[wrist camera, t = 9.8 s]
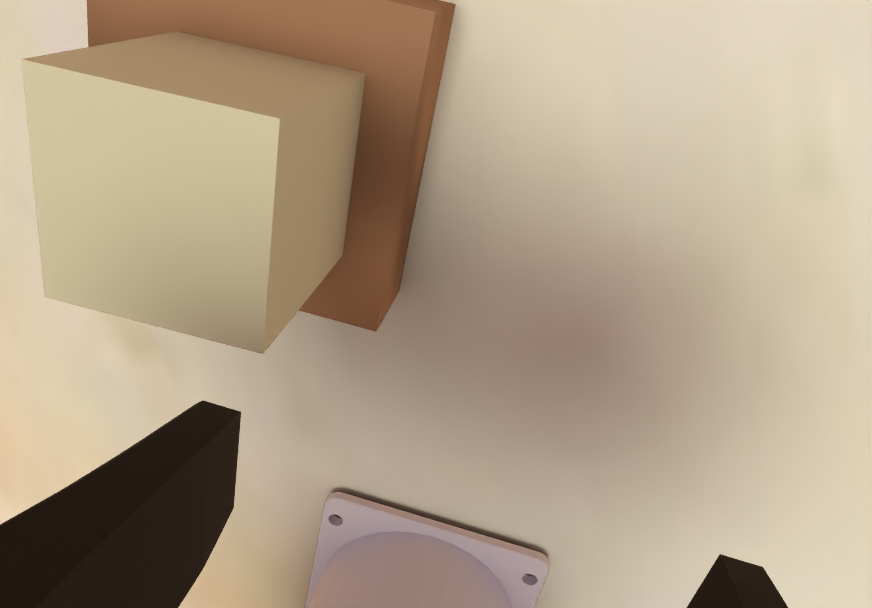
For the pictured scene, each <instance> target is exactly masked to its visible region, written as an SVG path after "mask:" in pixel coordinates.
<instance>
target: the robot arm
mask: <svg viewBox="0 0 872 608" xmlns="http://www.w3.org/2000/svg"><path fill="white" fill-rule="evenodd" d="M240 418H241V412H240V411H236V410H233V409H229V408H226V407H223V406H219V405H216V404H213V403H209V402H206V401H201V402H199V403H197V404H195V405H194V406H192V407H191V408H189V409H187V410H186V411H184V412H183V413H181V414H180V415H178V416H177V417H175V418H174V419H172V420H171V421H169V422H168V423H166V424H165V425H163V426H162V427H160V428H159V429H157V430H156V431H154V432H153V433H151V434H150V435H148V436H147V437H145V438H144V439H142V440H141V441H139V442H138V443H136V444H134V445H133V446H131V447H130V448H128V449H127V450H125V451H124V452H122V453H121V454H119V455H118V456H116V457H114V458H113V459H111V460H109V461H108V462H106V463H105V464H103V465H101V466H100V467H98V468H97V469H95V470H93V471H92V472H90V473H88V474H87V475H85V476H84V477H82V478H80V479H79V480H77V481H76V482H74V483H72V484H71V485H69V486H67V487H66V488H64V489H62V490H61V491H59V492H57V493H55V494H54V495H52V496H50V497H48V498H47V499H45V500H43V501H41V502H40V503H38V504H36V505H34V506H32V507H31V508H29V509H27V510H25V511H24V512H22V513H20V514H18V515H16V516H15V517H13V518H11V519H9V520H8V521H6V522H4V523H2V524H1V525H0V608H178V607H179V605H180V604H181V602H182V601H183V599H184V598H185V596H186V595H187V593H188V592H189V590H190V588H191V587H192V585H193V584H194V582H195V581H196V579H197V577H198V576H199V574H200V573H201V571H202V570H203V568H204V566H205V564H206V562H207V560H208V558H209V556H210V554H211V552H212V550H213V548H214V546H215V544H216V542H217V540H218V538H219V536H220V534H221V532H222V530H223V528H224V526H225V524H226V522H227V520H228V518H229V516H230V514H231V512H232V510H233V508H234V496H235V483H236V470H237V457H238V444H239V431H240ZM333 514H334V515H338V516H340V517H341V518H337V517H336V516H334V515H333ZM548 570H549V561H548V558H547V557H546V556H545V555H544V554H542V553H540V552H538V551H534V550H531V549H528V548H524V547H521V546H518V545H514V544H511V543H508V542H504V541H501V540H498V539H495V538H491V537H488V536H485V535H481V534H478V533H475V532H471V531H468V530H465V529H461V528H458V527H455V526H452V525H448V524H445V523H442V522H438V521H435V520H432V519H428V518H425V517H422V516H418V515H415V514H412V513H409V512H405V511H402V510H399V509H395V508H392V507H389V506H385V505H382V504H379V503H376V502H372V501H369V500H366V499H362V498H359V497H356V496H352V495H349V494H346V493H342V492H334V493H331V494H330V495H329V496H328V498H327V500H326V502H325V504H324V509H323V515H322V520H321V525H320V531H319V536H318V542H317V547H316V552H315V558H314V563H313V569H312V574H311V579H310V585H309V590H308V596H307V601H306V606H305V608H534V605H535V603H536V601H537V598H538V596H539V594H540V591H541V589H542V586H543V584H544V582H545V579H546V577H547V574H548ZM526 574H532V575H534V576H528V575H526ZM687 608H788V607H787V605H786V603H785V602H784V600H783V598H782V597H781V595H780V594H779V592H778V590H777V589H776V587H775V586H774V584H773V582H772V581H771V579H770V578H769V576H768V575H767V573H766V571H765V570H764V568H763V567H761V566H757V565H754V564H751V563H747V562H744V561H741V560H737V559H734V558H731V557H727V556H724V555H719V557H718V558H717V560H716V561H715V563H714V565H713V566H712V568H711V569H710V571H709V573H708V574H707V576H706V578H705V579H704V581H703V582H702V584H701V586H700V587H699V589H698V590H697V592H696V594H695V595H694V597H693V599H692V600H691V602H690V603H689V605H688V607H687Z"/></svg>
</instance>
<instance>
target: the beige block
mask: <svg viewBox="0 0 872 608" xmlns="http://www.w3.org/2000/svg"><path fill="white" fill-rule="evenodd" d="M22 70H23V80H24V90H25V100H26V111H27V121H28V131H29V141H30V151H31V162H32V172H33V182H34V192H35V203H36V213H37V223H38V233H39V244H40V254H41V264H42V274H43V285H44V295H45V297H47V298H50V299H54V300H58V301H62V302H66V303H70V304H73V305H77V306H81V307H85V308H89V309H93V310H96V311H100V312H104V313H108V314H112V315H116V316H120V317H123V318H127V319H131V320H135V321H139V322H143V323H146V324H150V325H154V326H158V327H162V328H166V329H169V330H173V331H177V332H181V333H185V334H189V335H193V336H196V337H200V338H204V339H208V340H212V341H216V342H219V343H223V344H227V345H231V346H235V347H239V348H242V349H246V350H250V351H254V352H258V353H262V354H263V353H264V352H265V351H266V350H267V348H268V347H269V346H270V345H271V343H272V342H273V341H274V340H275V338H276V337H277V336H278V335H279V333H280V332H281V331H282V330H283V329H284V327H285V326H286V325H287V324H288V322H289V321H290V320H291V319H292V317H293V316H294V315H295V314H296V312H297V311H298V310H299V309H300V308H301V306H302V305H303V304H304V303H305V301H306V300H307V299H308V298H309V296H310V295H311V294H312V293H313V291H314V290H315V289H316V288H317V287H318V285H319V284H320V283H321V282H322V280H323V279H324V278H325V277H326V275H327V274H328V273H329V272H330V270H331V269H332V268H333V267H334V266H335V264H336V263H337V262H338V261H339V259H340V258H341V257H342V256H343V249H344V241H345V233H346V225H347V218H348V210H349V202H350V194H351V186H352V178H353V170H354V162H355V154H356V146H357V138H358V130H359V122H360V114H361V106H362V98H363V90H364V82H365V74H366V73H361V72H357V71H352V70H348V69H343V68H339V67H334V66H330V65H325V64H321V63H316V62H312V61H307V60H303V59H298V58H294V57H289V56H285V55H280V54H276V53H271V52H267V51H262V50H258V49H253V48H249V47H244V46H240V45H235V44H231V43H226V42H222V41H217V40H213V39H208V38H204V37H199V36H195V35H190V34H186V33H181V32H177V31H176V32H171V33H165V34H160V35H154V36H149V37H143V38H137V39H132V40H126V41H121V42H115V43H110V44H104V45H98V46H93V47H87V48H82V49H76V50H71V51H65V52H59V53H54V54H48V55H43V56H37V57H32V58H26V59H22Z"/></svg>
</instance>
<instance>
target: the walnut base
mask: <svg viewBox="0 0 872 608" xmlns="http://www.w3.org/2000/svg"><path fill="white" fill-rule="evenodd" d="M454 9H455V4H452V3H448V2H443V1H439V0H87V18H88V45H89V47H93V46H98V45H104V44H110V43H115V42H121V41H126V40H132V39H137V38H143V37H149V36H154V35H160V34H165V33H171V32H176V31H177V32H181V33H186V34H190V35H195V36H199V37H204V38H208V39H213V40H217V41H222V42H226V43H231V44H235V45H240V46H244V47H249V48H253V49H258V50H262V51H267V52H271V53H276V54H280V55H285V56H289V57H294V58H298V59H303V60H307V61H312V62H316V63H321V64H325V65H330V66H334V67H339V68H343V69H348V70H352V71H357V72H361V73H366V74H365V82H364V90H363V98H362V106H361V114H360V122H359V130H358V138H357V146H356V154H355V162H354V170H353V178H352V186H351V194H350V202H349V210H348V218H347V225H346V233H345V241H344V249H343V256H342V257H341V258H340V259H339V261H338V262H337V263H336V264H335V266H334V267H333V268H332V269H331V270H330V272H329V273H328V274H327V275H326V277H325V278H324V279H323V280H322V282H321V283H320V284H319V285H318V287H317V288H316V289H315V290H314V291H313V293H312V294H311V295H310V296H309V298H308V299H307V300H306V301H305V303H304V304H303V305H302V306H301V308H300V309H299V310H300V311H304V312H307V313H311V314H314V315H318V316H322V317H325V318H329V319H333V320H336V321H340V322H343V323H347V324H351V325H354V326H358V327H362V328H365V329H369V330H372V331H377V329H378V327H379V326H380V324H381V322H382V320H383V318H384V317H385V315H386V313H387V311H388V309H389V308H390V306H391V304H392V302H393V300H394V299H395V297H396V295H397V293H398V291H399V287H400V282H401V277H402V272H403V267H404V262H405V257H406V252H407V247H408V242H409V237H410V232H411V226H412V221H413V216H414V211H415V206H416V201H417V196H418V191H419V186H420V181H421V176H422V171H423V166H424V161H425V156H426V151H427V145H428V140H429V135H430V130H431V125H432V120H433V115H434V110H435V105H436V100H437V95H438V90H439V85H440V80H441V75H442V69H443V64H444V59H445V54H446V49H447V44H448V39H449V34H450V29H451V24H452V19H453V14H454Z"/></svg>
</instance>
